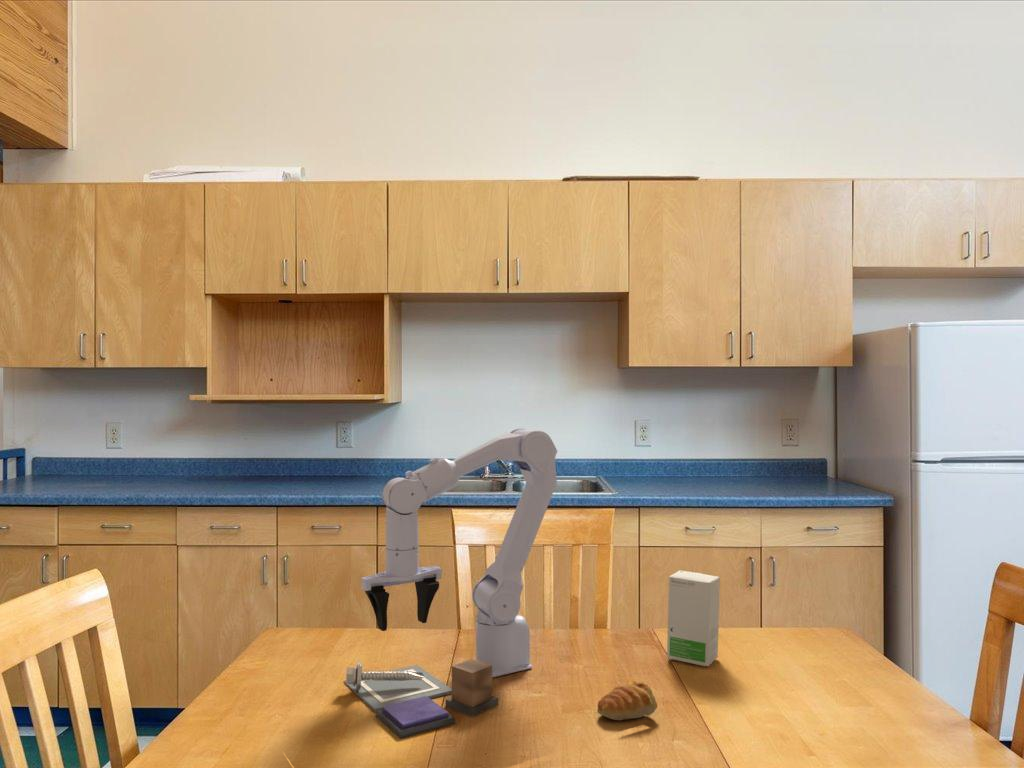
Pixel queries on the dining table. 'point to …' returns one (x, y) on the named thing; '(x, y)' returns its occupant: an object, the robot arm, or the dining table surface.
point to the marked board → (400, 689)
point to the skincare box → (693, 617)
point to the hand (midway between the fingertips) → (402, 625)
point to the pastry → (628, 702)
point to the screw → (378, 676)
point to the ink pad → (414, 716)
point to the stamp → (471, 688)
